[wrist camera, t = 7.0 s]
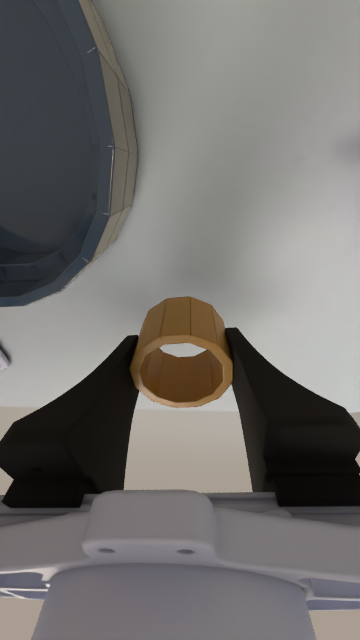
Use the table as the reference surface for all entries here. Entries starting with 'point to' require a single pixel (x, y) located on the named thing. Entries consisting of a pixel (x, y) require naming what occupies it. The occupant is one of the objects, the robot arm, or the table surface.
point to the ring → (182, 372)
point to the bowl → (59, 146)
